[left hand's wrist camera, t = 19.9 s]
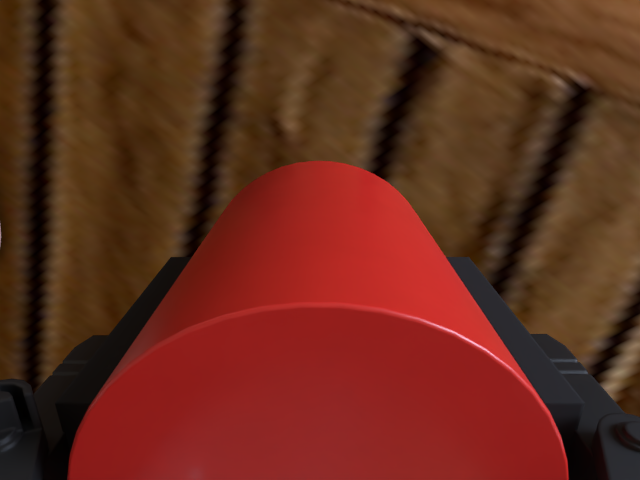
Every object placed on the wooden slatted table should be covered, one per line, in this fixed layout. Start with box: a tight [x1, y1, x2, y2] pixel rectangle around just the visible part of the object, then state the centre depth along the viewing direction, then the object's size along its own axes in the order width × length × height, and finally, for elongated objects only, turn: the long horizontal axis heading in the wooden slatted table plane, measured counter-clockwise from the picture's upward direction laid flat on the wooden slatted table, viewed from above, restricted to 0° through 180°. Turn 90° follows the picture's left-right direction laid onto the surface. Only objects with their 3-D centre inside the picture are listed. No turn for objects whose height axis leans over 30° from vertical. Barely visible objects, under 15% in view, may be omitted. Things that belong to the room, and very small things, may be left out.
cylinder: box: [67, 161, 569, 480], centre depth 11 cm, size 8×8×10 cm
